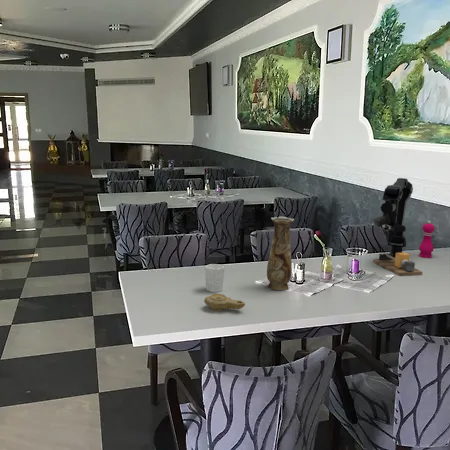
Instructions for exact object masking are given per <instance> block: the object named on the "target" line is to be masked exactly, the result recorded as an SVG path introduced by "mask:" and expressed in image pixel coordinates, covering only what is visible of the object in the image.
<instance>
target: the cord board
mask: <svg viewBox="0 0 450 450" xmlns="http://www.w3.org/2000/svg"><path fill="white" fill-rule="evenodd" d="M378 257H379V258H376V259H375V258H374V259H372V262H373V263H374V264H376V265H378V266H379V267H382V268H384V269H385V270H387V271H389V272H390V273H392V274H394V275H396V276H399V277H406V276H410V277H411V276H423V271H421V270H419V269H417V268H415V265H416V262H415V261H412V260H409V261H408V260H406V259H404V260H402V261H401V263H400V266H401V268H398V267H396V266H395V258H394V257H393V254H392V253H390V252H388V253H385V252H383V253H379V256H378Z"/></svg>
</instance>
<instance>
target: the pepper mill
mask: <svg viewBox="0 0 450 450" xmlns="http://www.w3.org/2000/svg"><path fill="white" fill-rule="evenodd" d="M421 229H422V235H423V237H422V241H421V243H420V245H419V248H418V250H419V254H418V256H419V257H420V258H424V259H431V258H432V256H433V254H432V253H433V252H434V245H433V242H432V238H433V237H432V236H433V234H434V233H433V232H434V231H435V225H434V224H433V223H432V222H431V220H427V223H425V224H423V225H422V228H421Z"/></svg>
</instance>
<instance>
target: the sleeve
mask: <svg viewBox="0 0 450 450" xmlns="http://www.w3.org/2000/svg"><path fill="white" fill-rule="evenodd" d="M404 259H406V260H408V261H410V254H409V253H407V252H403V251H402V253H396V256H395V266H396V267H398V268H401V266H400V263H401V261H402V260H404Z"/></svg>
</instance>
